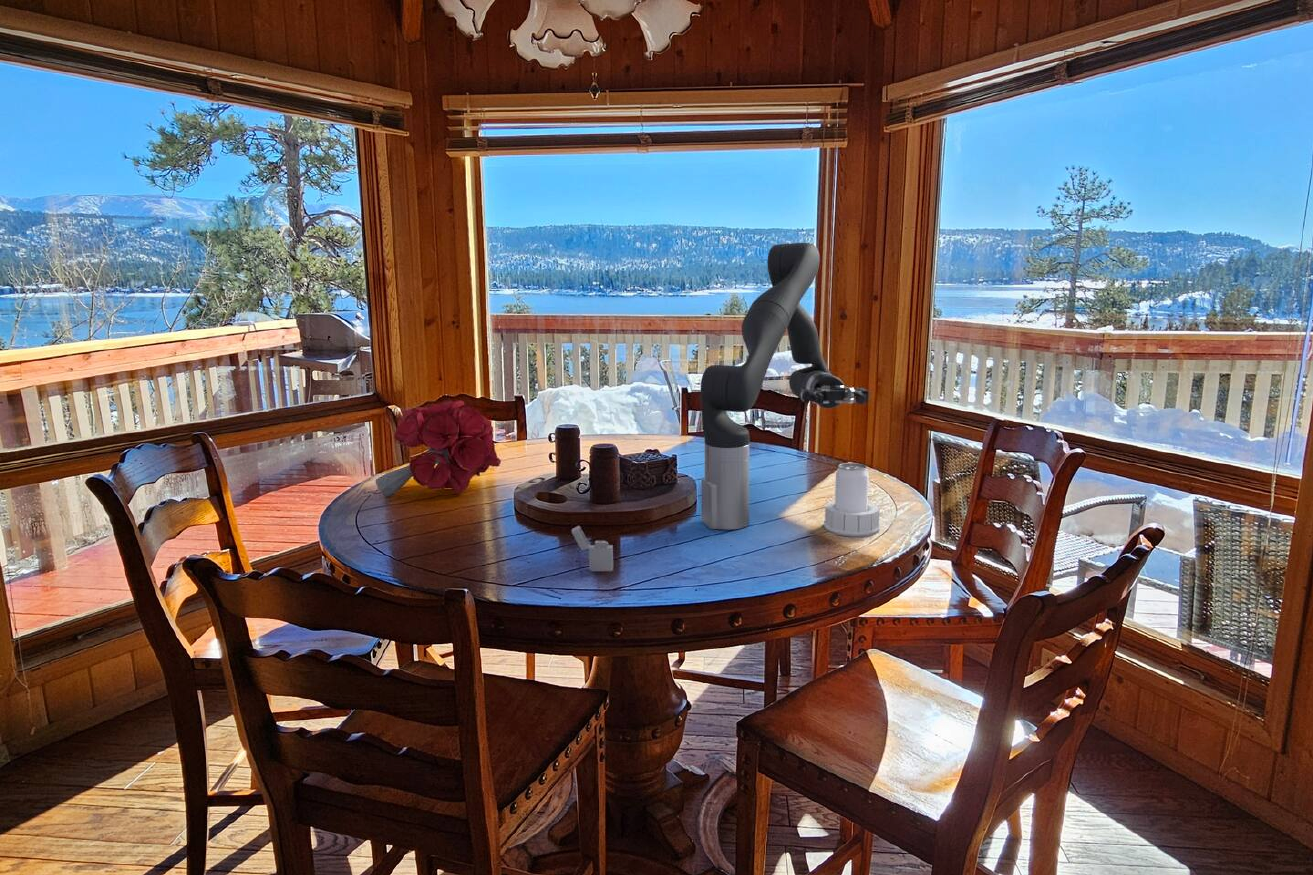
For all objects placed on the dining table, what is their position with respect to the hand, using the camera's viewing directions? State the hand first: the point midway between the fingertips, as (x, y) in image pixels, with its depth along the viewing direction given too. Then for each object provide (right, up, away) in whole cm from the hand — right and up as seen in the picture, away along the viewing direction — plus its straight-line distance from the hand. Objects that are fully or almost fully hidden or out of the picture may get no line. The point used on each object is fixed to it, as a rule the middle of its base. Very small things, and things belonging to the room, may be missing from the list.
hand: (842, 400), depth 169 cm
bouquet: (-92, -22, +26) cm, 98 cm away
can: (0, -26, -6) cm, 26 cm away
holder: (+1, -27, -6) cm, 27 cm away
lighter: (-51, -32, -26) cm, 65 cm away
